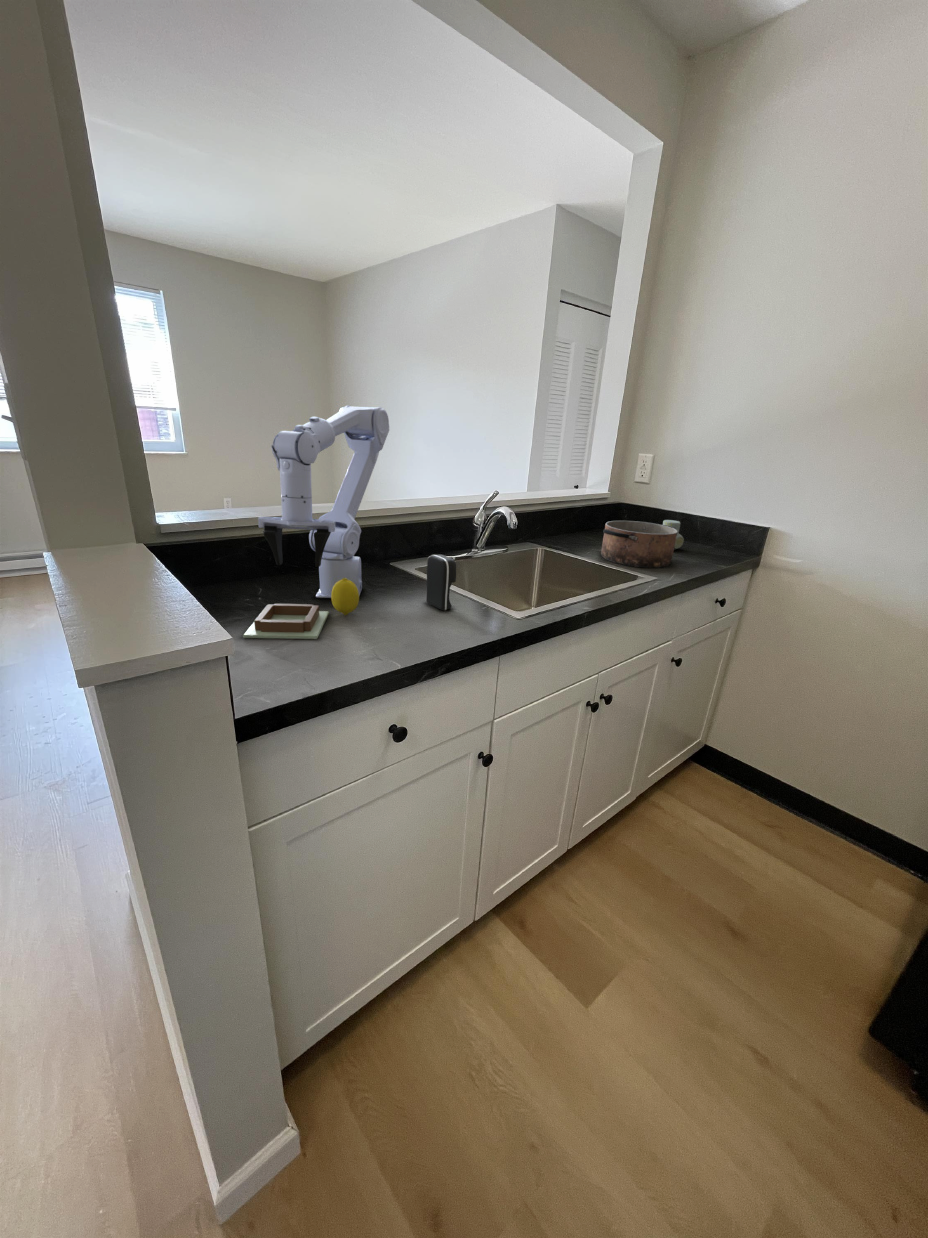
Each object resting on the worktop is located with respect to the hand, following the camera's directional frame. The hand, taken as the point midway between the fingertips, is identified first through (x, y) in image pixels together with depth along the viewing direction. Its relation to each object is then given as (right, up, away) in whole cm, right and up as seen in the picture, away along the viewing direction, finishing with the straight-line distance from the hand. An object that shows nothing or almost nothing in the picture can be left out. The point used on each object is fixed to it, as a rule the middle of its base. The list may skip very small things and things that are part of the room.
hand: (298, 564), depth 101 cm
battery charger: (+28, -8, +10) cm, 31 cm away
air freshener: (+109, +15, +83) cm, 138 cm away
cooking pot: (+91, +9, +63) cm, 111 cm away
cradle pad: (0, -12, -5) cm, 13 cm away
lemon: (+9, -10, +2) cm, 14 cm away
